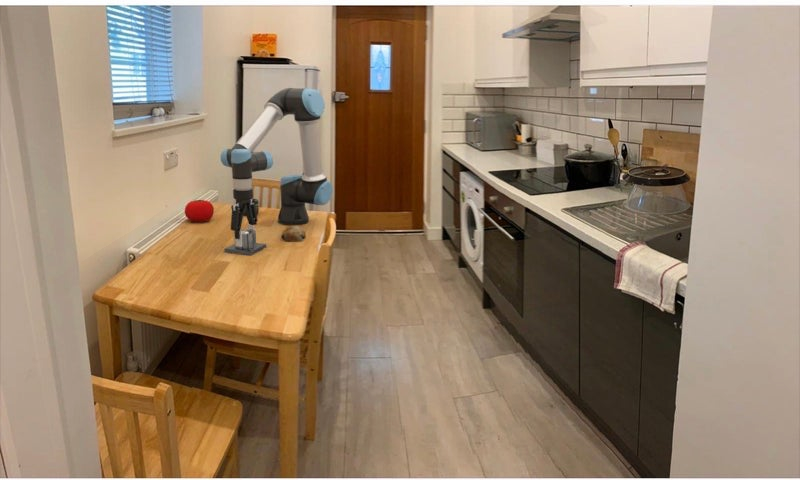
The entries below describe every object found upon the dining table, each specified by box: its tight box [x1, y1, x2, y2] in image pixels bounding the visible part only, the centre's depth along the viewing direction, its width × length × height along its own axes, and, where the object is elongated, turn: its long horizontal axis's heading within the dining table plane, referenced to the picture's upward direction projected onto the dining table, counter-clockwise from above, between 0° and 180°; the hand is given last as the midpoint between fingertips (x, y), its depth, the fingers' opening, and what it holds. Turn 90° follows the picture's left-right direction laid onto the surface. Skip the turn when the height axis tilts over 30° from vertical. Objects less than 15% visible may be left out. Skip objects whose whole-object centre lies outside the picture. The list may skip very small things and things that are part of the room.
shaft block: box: [223, 230, 267, 256], centre depth 222 cm, size 12×12×8 cm
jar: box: [243, 197, 260, 217], centre depth 281 cm, size 10×10×8 cm
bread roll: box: [280, 225, 307, 243], centre depth 240 cm, size 10×10×8 cm
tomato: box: [184, 199, 215, 223], centre depth 265 cm, size 14×13×10 cm
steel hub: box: [233, 228, 257, 249], centre depth 222 cm, size 8×8×6 cm
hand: (245, 243), depth 222 cm, fingers open, 9 cm apart
